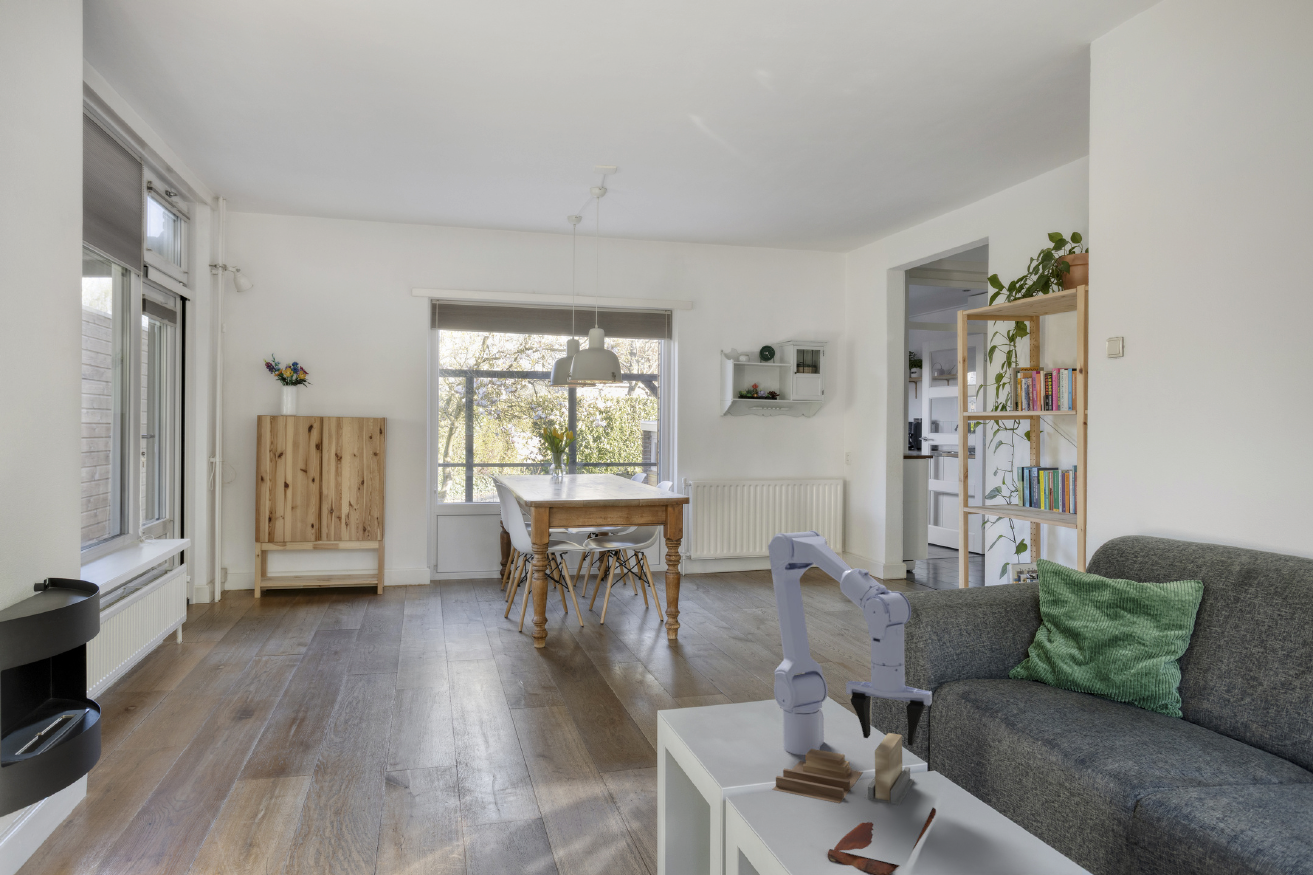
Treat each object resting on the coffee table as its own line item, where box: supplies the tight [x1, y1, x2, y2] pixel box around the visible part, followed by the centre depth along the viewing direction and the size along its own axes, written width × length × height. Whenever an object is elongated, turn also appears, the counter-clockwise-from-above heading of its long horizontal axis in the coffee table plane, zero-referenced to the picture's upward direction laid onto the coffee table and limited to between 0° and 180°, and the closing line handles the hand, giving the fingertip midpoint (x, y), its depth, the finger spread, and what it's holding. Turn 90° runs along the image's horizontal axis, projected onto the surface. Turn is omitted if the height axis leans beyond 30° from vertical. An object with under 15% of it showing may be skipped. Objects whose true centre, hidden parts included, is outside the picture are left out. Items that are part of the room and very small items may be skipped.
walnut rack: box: [772, 760, 863, 804], centre depth 144 cm, size 15×12×2 cm
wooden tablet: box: [827, 807, 937, 875], centre depth 126 cm, size 27×10×2 cm, turn 144°
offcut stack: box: [803, 749, 852, 779], centre depth 148 cm, size 4×8×3 cm, turn 61°
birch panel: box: [874, 732, 903, 801], centre depth 141 cm, size 2×10×8 cm, turn 151°
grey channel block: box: [863, 766, 915, 806], centre depth 141 cm, size 12×6×3 cm, turn 151°
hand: (888, 739), depth 141 cm, fingers open, 7 cm apart
